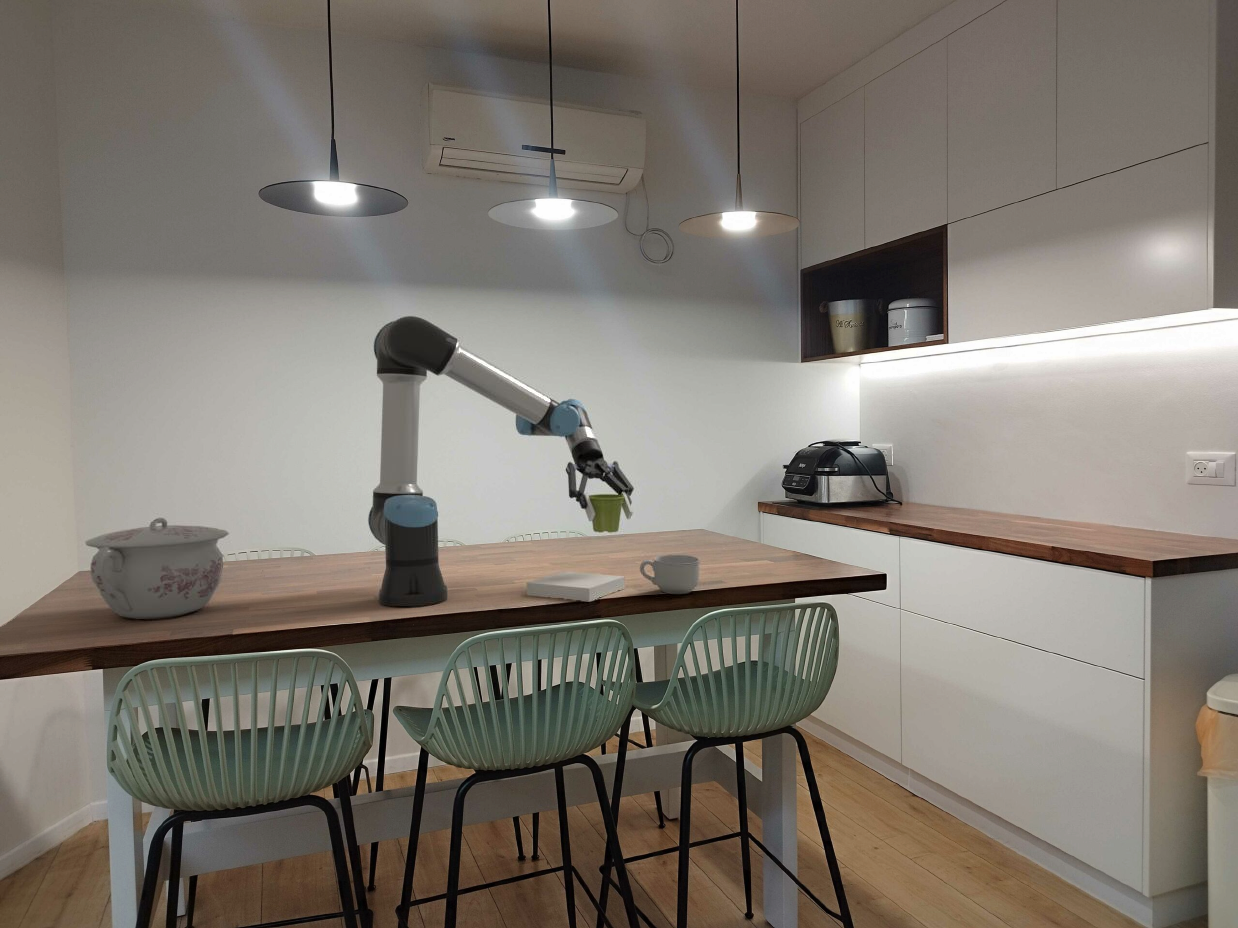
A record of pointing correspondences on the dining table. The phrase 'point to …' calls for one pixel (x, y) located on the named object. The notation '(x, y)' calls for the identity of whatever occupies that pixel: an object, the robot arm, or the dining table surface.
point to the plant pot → (606, 512)
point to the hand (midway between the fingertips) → (611, 516)
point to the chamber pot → (157, 569)
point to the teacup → (674, 573)
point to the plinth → (575, 586)
